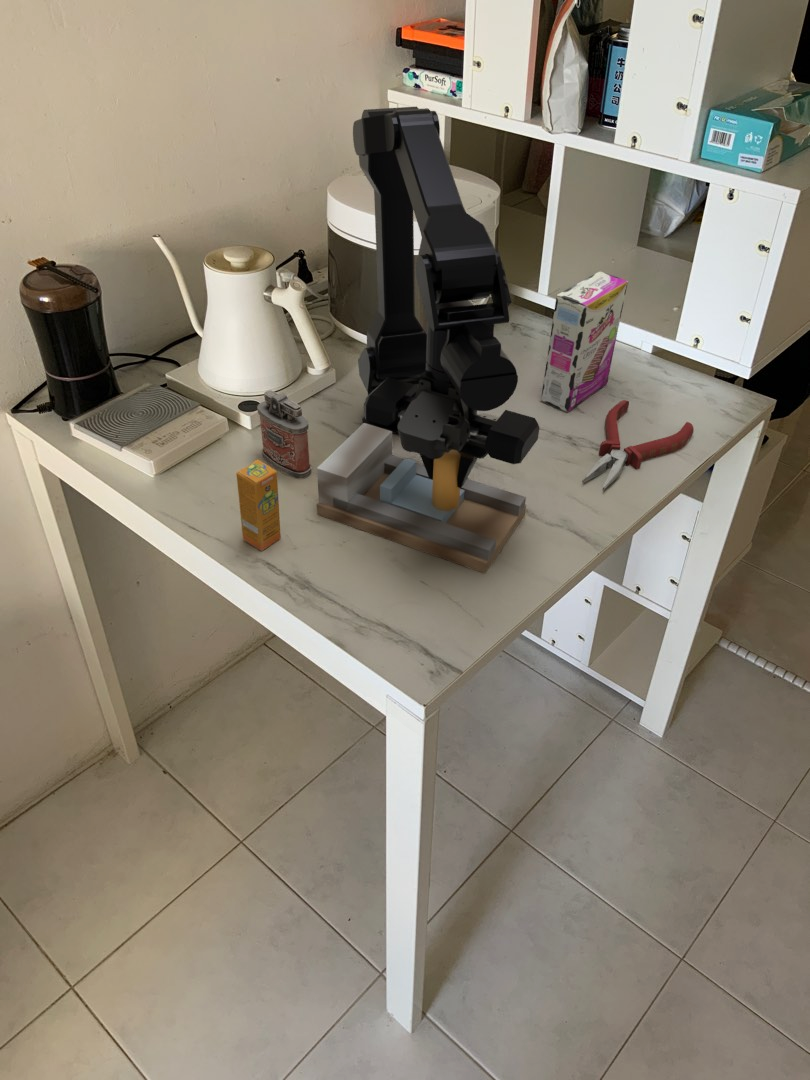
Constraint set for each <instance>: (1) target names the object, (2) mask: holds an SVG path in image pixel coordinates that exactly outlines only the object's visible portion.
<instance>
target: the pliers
mask: <svg viewBox="0 0 810 1080" xmlns="http://www.w3.org/2000/svg"><path fill="white" fill-rule="evenodd" d="M629 406H630V401H629V400H625V399H623V400H620V401H619V402H618V403H616V405H614V406H613V407H612V408H611V409H610V410H608V412H607V414H606V415H605V416H606V417H605V420H604V432H605V439H606V440H603V441H602V442H600V445H599V449H598V457H601V458H600V459H598V461H597V462H596V463H595V464H594V465H593V466H592V468H591V469H590V470H589V471H588V473H587V474H585V475H586V476H585V477H584V478H583V479H582V481H581V483H582V484H583V483H585V482H587V481H590V480H592V479H593V478H596V477H598V476H600V475H601V474H603V473H604V472H606V470H607V467H610V471H609V473H608V475H607V477H606V479H605V482H604V484H603V486H602V491H604V490H605V489H607V487H609V486H610V485H611V484H612V483H613V482H614V481H615V480H616V479H617V478H618V477H619V476H620V474H621V473H622V471H623V467H624V466H626V467H627V466H631V467H632V469H634V470H635V471H637V470H639V469H640V468H641V464H642V462H644V461H647V460H650V459H655V458H657V457H661V456H665V455H669V454H672V453H674V452H676V451H679V450H681V449H683V448H684V447H685V446H686V444H687V443H688V442H689V440H690V439H691V438H692V436H693V434H694V432H695V431H694V428H695V427H694V425H693V424H692V423H691V422H689V421H686V422H685V423H684V425H683V426H682V428H681V429H679V431H678V432H676V433H674V434H672V435H669V436H666V437H662V438H658V439H655V440H651V441H647V442H646V441H645V442H642V443H639V444H636V445H629V446H627V447H625V448H623V450H621V440H620V434H619V433H620V432H619V427H618V420H619V419H620V418H622V417H623V416H624V415H625V414H626V413H627V412H628V409H629Z"/></svg>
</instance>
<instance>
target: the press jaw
mask: <svg viewBox="0 0 810 1080" xmlns="http://www.w3.org/2000/svg"><path fill="white" fill-rule="evenodd" d="M460 456H461V455H460V454H459V452H458V451H457V450H450V451H449V453H447V452H445V453H444V455H443V456H442V457H440V458H438V459H434V466H433V480H431V479H428V478H425V477H422V476H418V475H416V463H418V462H417V461H416V460H414V459H410V458H406V457H404V460H403V461H402V462H401V463H400V464H399V465H398V467H397V468H396V469H395V470H394V471H393V472H392V473H391V474H390V475H389V476H388V478H387V479H386V480H385V481H384V482H383V483H382V484H381V485H380V501H381V502H384V503H387V504H390V505H393V506H396V507H399V508H402V509H405V510H408V511H411V512H414V513H417V514H420V515H423V516H426V517H429V518H432V519H434V520H437V521H440V522H443V523H446V522H447V521H448V519H449V518H450V517H451V516H452V514H453V513H454V512H455V510H456V509H457V508H458V507H459V505H460V504H461V503H462V501H463V500H464V492H465V490H462V489H460V488H458V486H457V477H458V470H459V463H460Z"/></svg>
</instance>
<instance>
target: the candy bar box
mask: <svg viewBox="0 0 810 1080" xmlns="http://www.w3.org/2000/svg"><path fill="white" fill-rule="evenodd" d="M628 285H629V280H626V279H623V278H621V277H618V276H615V275H612V274H609V273H605V272H603V271H597V272H596V273H594V274H593V275H590V276H589V277H587V278H585V279H584V280H582V281H579V282H578V283H576V284H574V285H572V286H571V287H569V288H567V289H565V290H564V291H562V292H560V293H557V294H556V297H555V303H554V310H553V317H552V323H551V331H550V336H549V343H548V349H547V357H546V362H545V363H546V364H545V369H544V375H543V376H544V377H543V381H542V382H543V384H542V387H541V388H542V390H541V397H540V401H541V402H542V403H543V404H547V405H549V406H551V407H553V408H555V409H558V410H560V411H562V412H565V413H568V412H570V411H571V410H573V409H575V408H576V407H577V406H578V405H580V404H581V403H582V402H584V401H585V400H587V399H588V398H589V397H591V396H592V395H593V394H595V393H596V392H598V391H599V390H601V389H602V388H603V387H604V386H606V385H607V384H608V380H609V375H610V370H611V366H612V360H613V356H614V351H615V350H614V349H615V345H616V341H617V338H618V337H617V336H618V332H619V331H618V330H619V327H620V322H621V318H622V313H623V307H624V304H625V303H624V302H625V299H626V293H627V288H628Z"/></svg>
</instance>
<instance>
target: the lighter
mask: <svg viewBox="0 0 810 1080" xmlns="http://www.w3.org/2000/svg"><path fill="white" fill-rule="evenodd" d="M263 394H264V401H262V402H260V403H259V404H257V407H256V408H257V413H258V415H259V421H260V431H261V432H260V433H261V441H262V449H261V454H262V455H261V456H262V458H263V459H264V460H265V461H266V462H267V464H268V465H269V466H272V468H273V469H275V470H276V471H279V472H282V473H283V474H285V475H287V476H289V477H291V478H294V479H298V480H299V479H306V478H308V477H310V476H311V475H312V464H310V452H309V435H308V430H309V425H310V424H309V420H308V419H306V417H304V415H303V408H302V407H303V406H300V404H298V403H296V402H294V401H292V400H291V399H289V398H288V396H287V395H286V393H284V392H280V393H277V392H275V391H273V390H271V389H269V390H266V391H264V392H263Z"/></svg>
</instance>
